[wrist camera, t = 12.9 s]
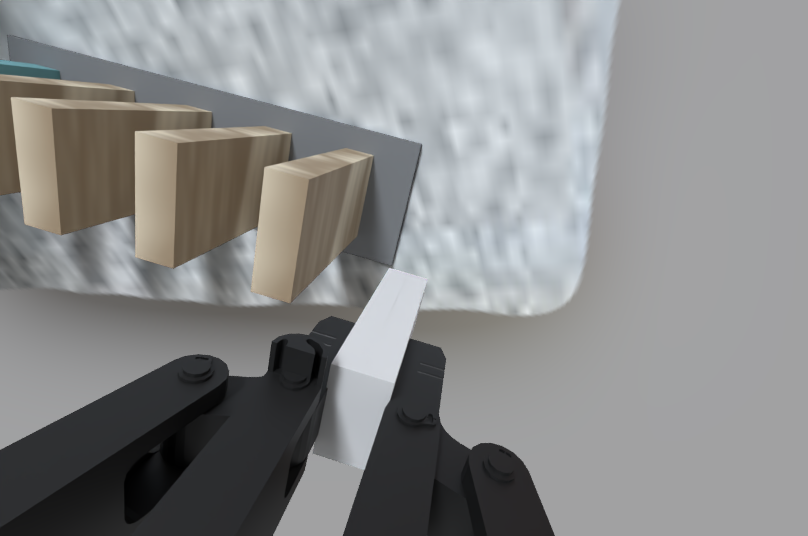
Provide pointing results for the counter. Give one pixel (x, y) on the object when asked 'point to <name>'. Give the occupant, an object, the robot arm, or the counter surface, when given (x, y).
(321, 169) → the tile
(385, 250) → the runner mat
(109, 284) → the counter surface
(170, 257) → the light wood flat block
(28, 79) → the light wood flat block
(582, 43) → the counter surface
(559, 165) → the counter surface
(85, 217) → the beige wooden block
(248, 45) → the counter surface
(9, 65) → the tile
